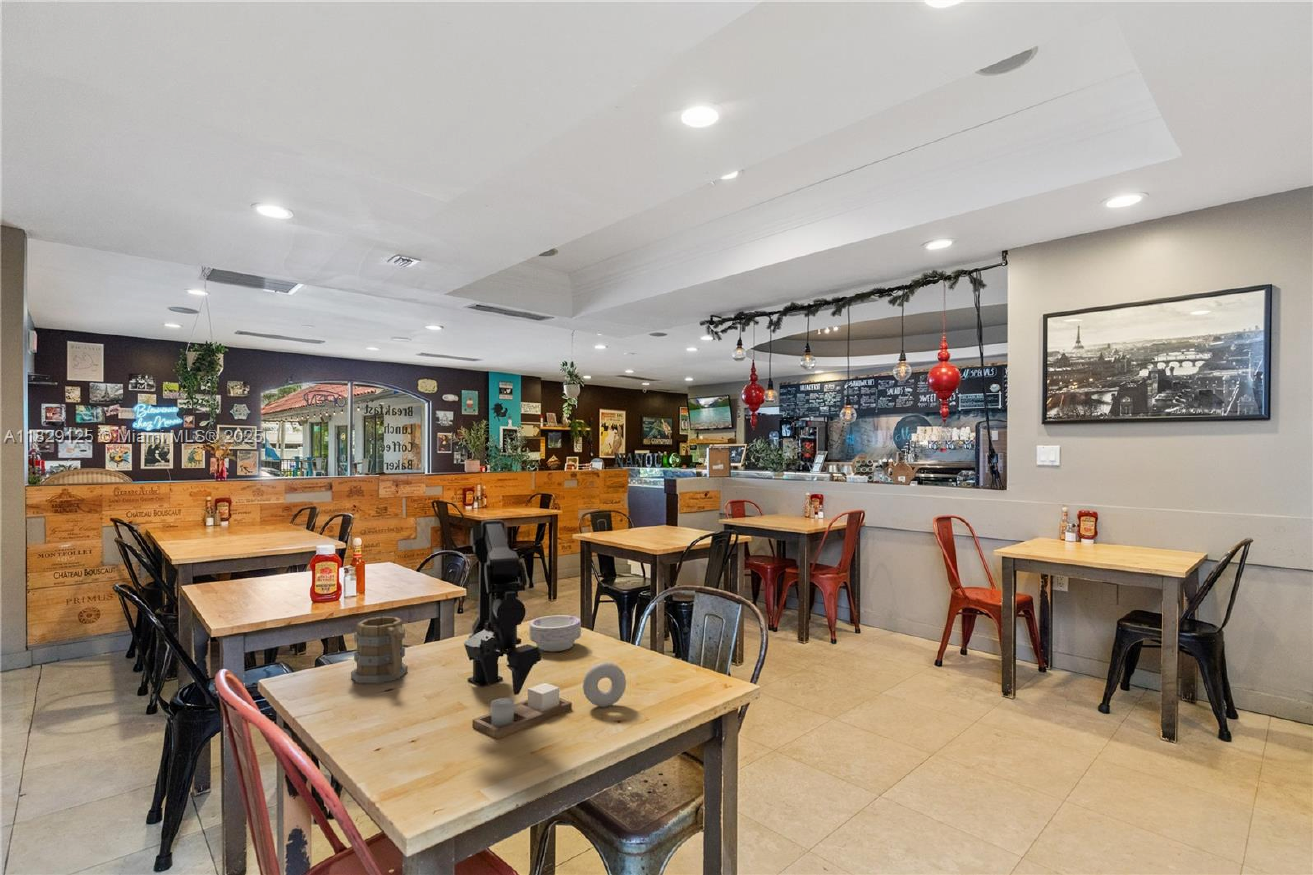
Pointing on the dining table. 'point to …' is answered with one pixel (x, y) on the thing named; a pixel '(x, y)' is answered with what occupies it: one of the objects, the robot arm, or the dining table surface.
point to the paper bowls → (555, 632)
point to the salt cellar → (502, 712)
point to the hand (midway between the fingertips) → (503, 689)
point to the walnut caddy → (520, 718)
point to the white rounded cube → (543, 697)
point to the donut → (612, 693)
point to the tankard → (379, 650)
